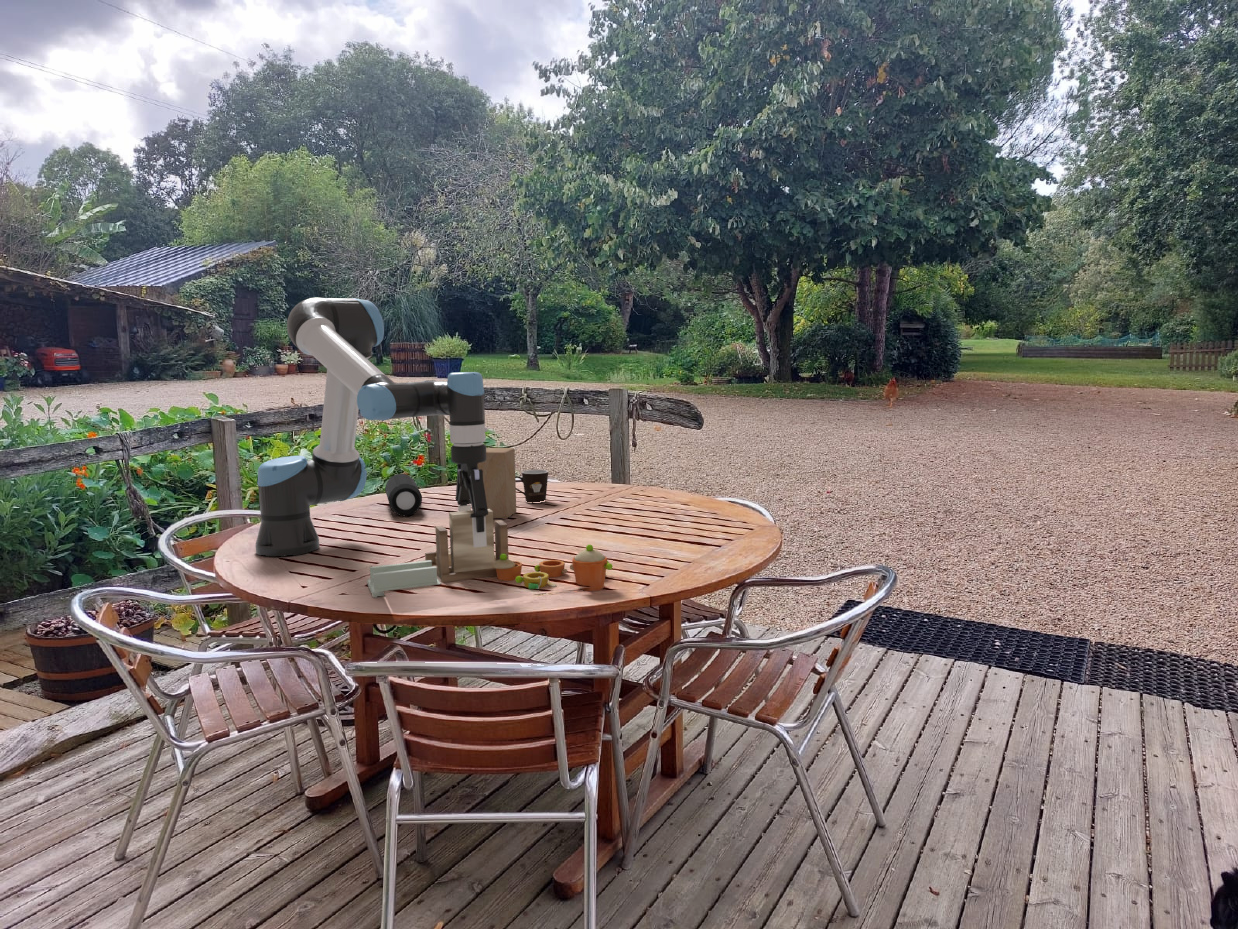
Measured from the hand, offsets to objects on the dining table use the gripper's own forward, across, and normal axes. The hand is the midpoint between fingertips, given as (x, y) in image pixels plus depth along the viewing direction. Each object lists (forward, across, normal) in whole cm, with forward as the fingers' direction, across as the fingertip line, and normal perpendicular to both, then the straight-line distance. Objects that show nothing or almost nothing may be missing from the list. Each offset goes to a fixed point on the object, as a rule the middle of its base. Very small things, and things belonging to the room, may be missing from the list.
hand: (472, 540), depth 183 cm
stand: (+9, +1, +15) cm, 18 cm away
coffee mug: (+8, +81, -38) cm, 90 cm away
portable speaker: (+8, +87, +2) cm, 87 cm away
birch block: (+8, 0, 0) cm, 8 cm away
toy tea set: (+10, -11, -15) cm, 21 cm away
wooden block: (+9, +65, -22) cm, 69 cm away
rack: (+9, +6, 0) cm, 11 cm away
